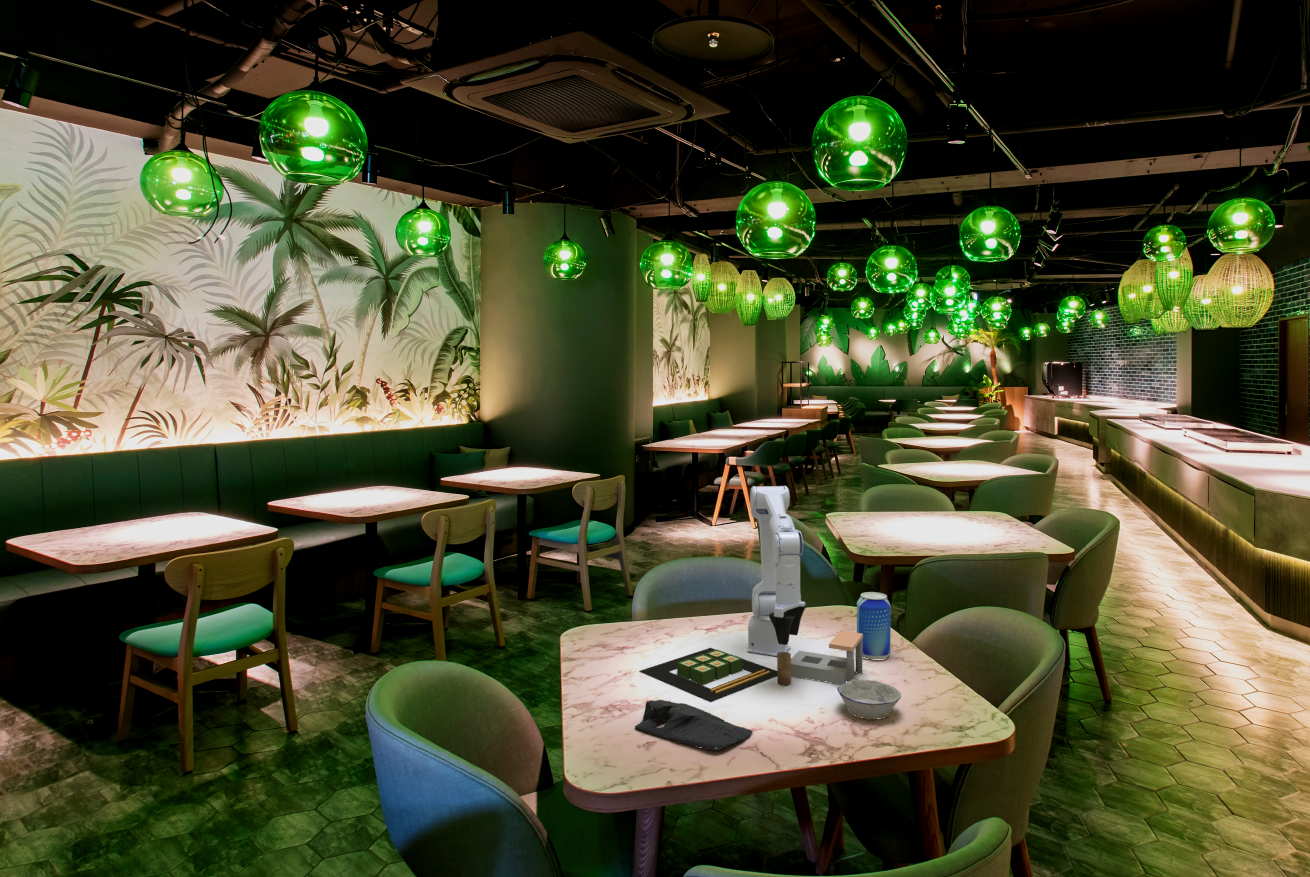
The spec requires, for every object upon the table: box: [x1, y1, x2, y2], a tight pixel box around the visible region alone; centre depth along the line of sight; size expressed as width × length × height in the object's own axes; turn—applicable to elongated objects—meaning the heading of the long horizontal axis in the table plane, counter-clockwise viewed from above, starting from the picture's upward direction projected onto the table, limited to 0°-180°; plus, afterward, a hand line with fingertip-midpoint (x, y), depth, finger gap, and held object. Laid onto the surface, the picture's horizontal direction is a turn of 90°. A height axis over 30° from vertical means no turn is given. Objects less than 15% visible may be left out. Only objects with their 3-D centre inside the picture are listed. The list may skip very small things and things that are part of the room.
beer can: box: [856, 591, 892, 660], centre depth 189 cm, size 8×8×16 cm
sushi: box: [638, 647, 777, 703], centre depth 179 cm, size 25×25×4 cm
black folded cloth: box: [634, 699, 753, 751], centre depth 148 cm, size 15×22×5 cm
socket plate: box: [791, 650, 847, 685], centre depth 178 cm, size 14×10×3 cm
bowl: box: [836, 678, 902, 720], centre depth 156 cm, size 13×13×5 cm
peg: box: [776, 651, 792, 687], centre depth 172 cm, size 3×3×7 cm
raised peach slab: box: [828, 630, 863, 681], centre depth 175 cm, size 6×11×10 cm, turn 152°
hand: (788, 639), depth 172 cm, fingers open, 7 cm apart
